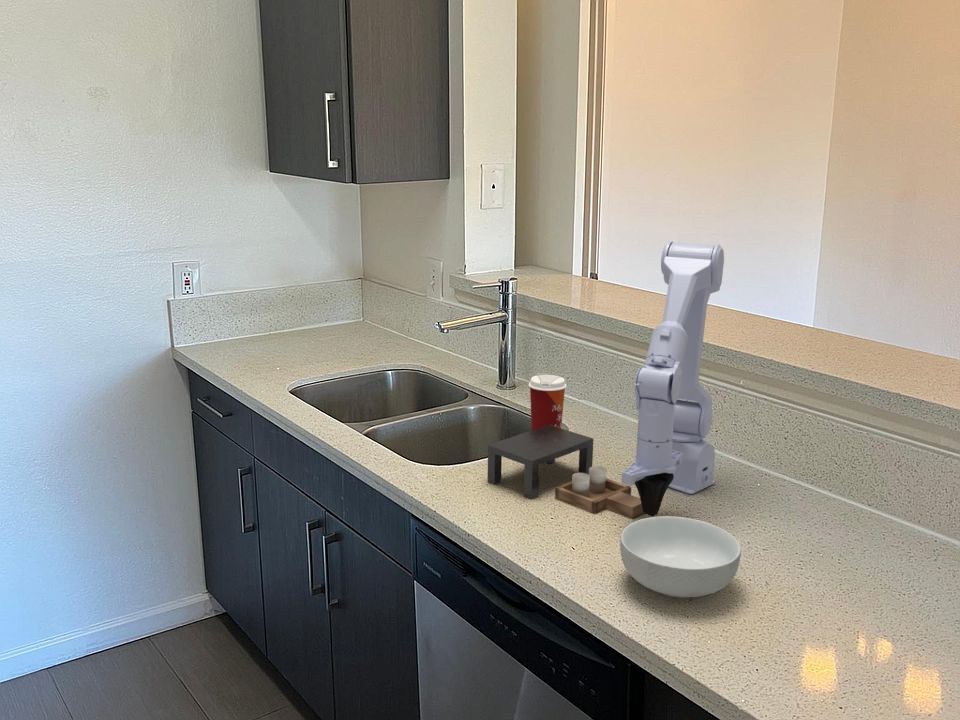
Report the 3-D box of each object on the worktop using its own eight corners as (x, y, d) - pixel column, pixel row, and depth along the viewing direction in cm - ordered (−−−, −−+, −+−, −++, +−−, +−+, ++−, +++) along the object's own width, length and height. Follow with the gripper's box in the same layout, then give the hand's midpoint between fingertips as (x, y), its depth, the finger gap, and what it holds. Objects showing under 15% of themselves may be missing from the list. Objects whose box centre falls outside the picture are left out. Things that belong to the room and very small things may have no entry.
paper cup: (562, 452, 184) (564, 385, 181) (524, 449, 186) (525, 382, 182) (566, 439, 192) (568, 374, 188) (530, 436, 193) (531, 372, 189)
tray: (656, 506, 159) (657, 482, 158) (621, 523, 152) (622, 498, 151) (590, 483, 169) (591, 460, 168) (555, 498, 162) (555, 474, 161)
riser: (591, 474, 173) (593, 438, 171) (531, 499, 161) (532, 461, 160) (548, 459, 180) (549, 424, 179) (487, 481, 169) (487, 445, 167)
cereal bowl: (666, 626, 122) (670, 578, 120) (595, 572, 136) (597, 528, 134) (763, 597, 129) (767, 551, 127) (685, 549, 143) (688, 507, 142)
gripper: (649, 454, 142) (644, 534, 146) (700, 432, 152) (694, 508, 156) (612, 442, 147) (609, 520, 151) (664, 422, 157) (660, 496, 161)
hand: (650, 513), depth 154 cm, fingers closed
